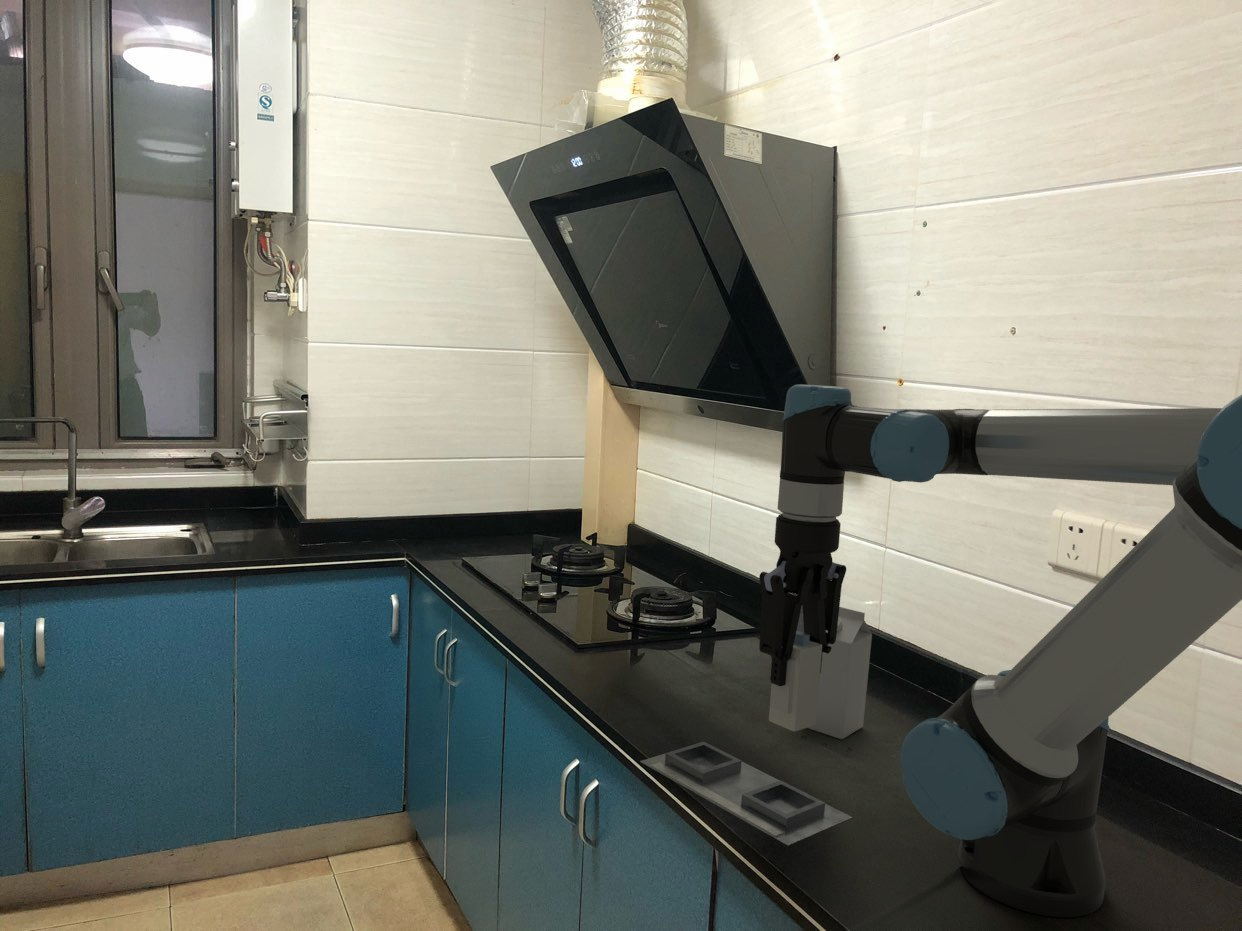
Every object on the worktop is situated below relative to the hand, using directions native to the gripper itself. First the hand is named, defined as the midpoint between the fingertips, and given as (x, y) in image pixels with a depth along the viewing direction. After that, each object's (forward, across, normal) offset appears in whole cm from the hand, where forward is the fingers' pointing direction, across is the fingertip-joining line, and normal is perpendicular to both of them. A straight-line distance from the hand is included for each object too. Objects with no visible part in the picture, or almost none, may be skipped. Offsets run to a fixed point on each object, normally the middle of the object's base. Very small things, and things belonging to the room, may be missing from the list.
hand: (793, 705), depth 117 cm
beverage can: (+14, -47, -36) cm, 61 cm away
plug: (+2, 0, 0) cm, 2 cm away
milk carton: (+15, -29, -16) cm, 36 cm away
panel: (+14, 0, -8) cm, 16 cm away
